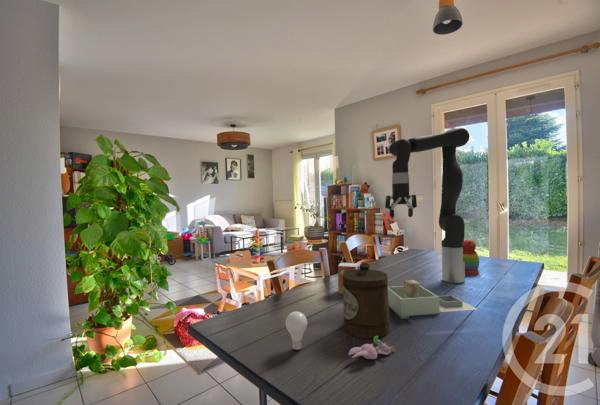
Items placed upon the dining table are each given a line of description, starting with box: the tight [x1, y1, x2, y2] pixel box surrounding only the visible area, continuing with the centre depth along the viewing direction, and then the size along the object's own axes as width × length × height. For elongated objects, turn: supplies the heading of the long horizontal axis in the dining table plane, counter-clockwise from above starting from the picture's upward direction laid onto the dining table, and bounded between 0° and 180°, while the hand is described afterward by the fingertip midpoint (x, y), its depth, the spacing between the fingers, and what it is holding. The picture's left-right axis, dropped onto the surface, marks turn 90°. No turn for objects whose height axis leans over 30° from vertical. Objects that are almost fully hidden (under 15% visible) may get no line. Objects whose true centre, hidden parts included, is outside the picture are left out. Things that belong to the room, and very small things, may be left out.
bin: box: [388, 284, 440, 320], centre depth 112 cm, size 14×14×7 cm
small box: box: [337, 262, 359, 295], centre depth 133 cm, size 8×6×13 cm
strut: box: [403, 279, 420, 298], centre depth 112 cm, size 4×4×10 cm
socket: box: [437, 294, 478, 313], centre depth 114 cm, size 14×14×3 cm
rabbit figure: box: [348, 336, 396, 360], centre depth 80 cm, size 6×6×15 cm
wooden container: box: [342, 261, 390, 339], centre depth 98 cm, size 15×15×22 cm
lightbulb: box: [285, 311, 308, 351], centre depth 86 cm, size 6×6×11 cm
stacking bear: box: [462, 239, 480, 276], centre depth 159 cm, size 11×10×18 cm
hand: (401, 217), depth 138 cm, fingers open, 8 cm apart
